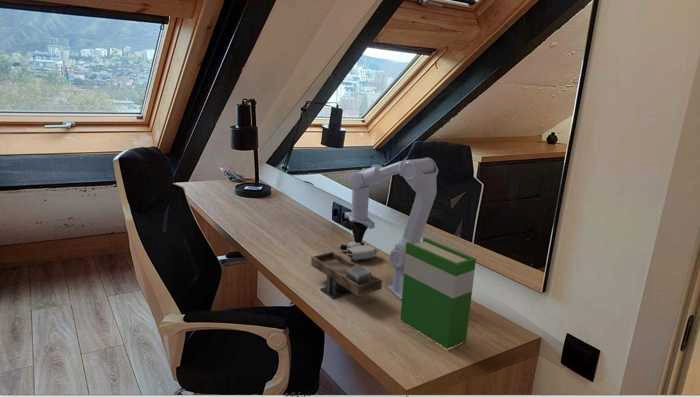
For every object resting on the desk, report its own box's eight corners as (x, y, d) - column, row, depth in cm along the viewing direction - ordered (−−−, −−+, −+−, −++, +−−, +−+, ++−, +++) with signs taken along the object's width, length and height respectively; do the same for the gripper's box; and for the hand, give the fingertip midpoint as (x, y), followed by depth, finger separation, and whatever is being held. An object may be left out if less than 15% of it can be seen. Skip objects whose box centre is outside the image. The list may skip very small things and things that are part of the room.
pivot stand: (367, 288, 152) (368, 271, 150) (332, 299, 144) (333, 281, 142) (354, 280, 157) (355, 263, 156) (320, 290, 149) (320, 273, 147)
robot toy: (335, 252, 182) (351, 264, 169) (335, 241, 182) (351, 253, 168) (363, 249, 188) (381, 260, 174) (363, 238, 187) (381, 249, 173)
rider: (369, 286, 143) (373, 273, 141) (357, 290, 140) (360, 277, 138) (357, 274, 148) (360, 261, 145) (344, 278, 145) (347, 264, 143)
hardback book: (400, 321, 133) (406, 242, 126) (418, 313, 137) (425, 237, 131) (447, 351, 119) (456, 265, 113) (465, 342, 124) (475, 258, 117)
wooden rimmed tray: (381, 288, 142) (382, 280, 141) (358, 296, 137) (359, 287, 136) (333, 259, 162) (333, 251, 161) (311, 265, 156) (311, 256, 156)
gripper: (338, 201, 162) (337, 238, 166) (364, 212, 151) (362, 251, 155) (354, 199, 167) (352, 234, 170) (380, 209, 156) (378, 247, 159)
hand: (358, 242), depth 163 cm, fingers closed
